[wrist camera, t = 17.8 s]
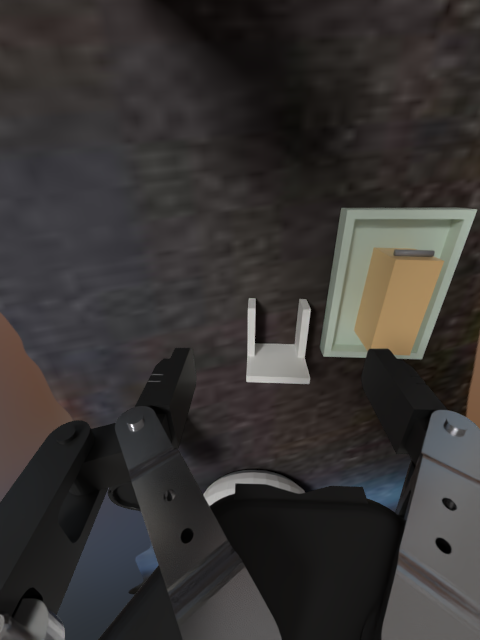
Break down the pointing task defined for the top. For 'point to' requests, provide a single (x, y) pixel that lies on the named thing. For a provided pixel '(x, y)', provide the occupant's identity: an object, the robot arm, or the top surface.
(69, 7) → the top surface
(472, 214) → the tray
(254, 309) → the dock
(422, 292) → the box with top handle
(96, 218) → the top surface
